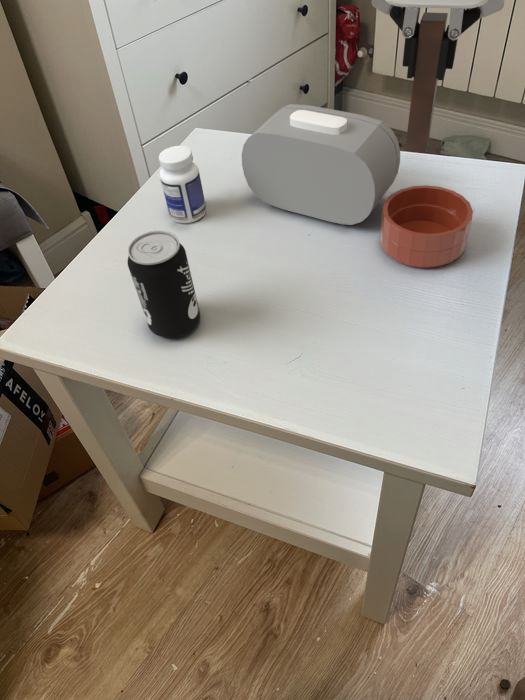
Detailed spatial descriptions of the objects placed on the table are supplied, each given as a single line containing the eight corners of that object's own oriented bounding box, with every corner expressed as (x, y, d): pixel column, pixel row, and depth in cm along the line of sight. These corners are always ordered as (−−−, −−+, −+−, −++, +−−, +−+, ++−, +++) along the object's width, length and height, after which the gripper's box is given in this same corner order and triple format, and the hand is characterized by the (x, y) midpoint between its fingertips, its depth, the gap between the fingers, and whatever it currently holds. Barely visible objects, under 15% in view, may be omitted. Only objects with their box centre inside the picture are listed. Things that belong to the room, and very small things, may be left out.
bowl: (468, 224, 79) (476, 190, 75) (459, 276, 72) (468, 241, 68) (388, 214, 82) (391, 181, 78) (372, 263, 75) (375, 229, 71)
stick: (428, 142, 67) (448, 12, 57) (425, 152, 66) (445, 21, 55) (408, 140, 68) (423, 12, 57) (404, 150, 67) (420, 20, 56)
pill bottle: (201, 199, 89) (190, 139, 81) (211, 218, 85) (199, 158, 78) (166, 208, 88) (151, 149, 80) (174, 228, 84) (159, 168, 77)
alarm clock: (397, 201, 84) (406, 113, 74) (371, 237, 79) (378, 147, 69) (276, 172, 92) (271, 89, 82) (246, 203, 87) (236, 119, 77)
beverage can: (189, 346, 68) (168, 269, 59) (140, 336, 70) (113, 261, 61) (208, 308, 72) (192, 231, 63) (162, 300, 74) (139, 224, 65)
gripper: (351, -140, 47) (344, 84, 61) (562, -149, 42) (503, 95, 56) (370, -157, 51) (360, 55, 65) (562, -166, 47) (508, 63, 61)
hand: (426, 72), depth 61 cm, fingers closed on stick, 2 cm apart
